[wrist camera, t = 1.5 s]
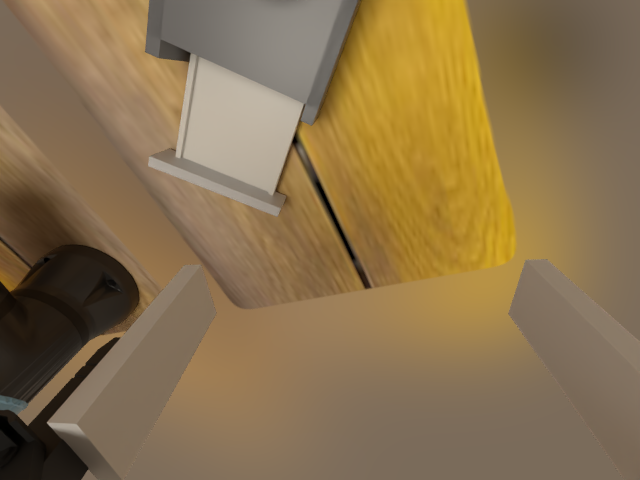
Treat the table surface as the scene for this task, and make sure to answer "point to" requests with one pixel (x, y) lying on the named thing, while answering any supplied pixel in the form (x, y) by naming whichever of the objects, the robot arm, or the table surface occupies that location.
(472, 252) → the table surface
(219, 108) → the tray
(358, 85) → the table surface
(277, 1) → the tray
